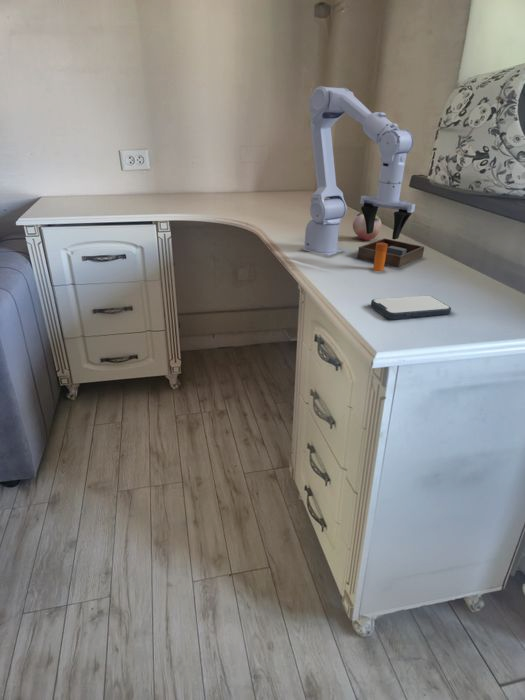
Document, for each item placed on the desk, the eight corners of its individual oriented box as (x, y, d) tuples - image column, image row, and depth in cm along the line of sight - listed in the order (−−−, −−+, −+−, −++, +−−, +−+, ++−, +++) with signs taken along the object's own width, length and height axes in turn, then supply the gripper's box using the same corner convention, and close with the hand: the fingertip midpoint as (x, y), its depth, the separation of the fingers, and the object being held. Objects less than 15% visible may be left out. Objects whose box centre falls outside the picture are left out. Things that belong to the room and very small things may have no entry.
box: (357, 258, 143) (358, 247, 141) (382, 249, 153) (384, 238, 152) (398, 269, 135) (400, 256, 134) (422, 258, 146) (424, 246, 144)
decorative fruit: (384, 241, 162) (389, 211, 157) (371, 246, 156) (375, 214, 152) (360, 236, 167) (364, 206, 163) (346, 240, 162) (350, 209, 157)
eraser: (386, 253, 147) (387, 247, 146) (390, 252, 149) (391, 245, 148) (401, 257, 144) (402, 250, 143) (405, 255, 146) (406, 249, 145)
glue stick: (370, 271, 133) (374, 243, 129) (375, 268, 135) (379, 241, 131) (380, 273, 131) (384, 246, 128) (385, 271, 133) (389, 243, 130)
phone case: (428, 301, 115) (368, 305, 110) (429, 294, 114) (369, 298, 109) (452, 315, 107) (388, 321, 102) (454, 308, 106) (390, 314, 102)
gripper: (424, 184, 122) (414, 238, 128) (372, 177, 130) (366, 228, 137) (411, 187, 117) (401, 243, 123) (359, 179, 126) (352, 232, 132)
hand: (382, 235), depth 130 cm, fingers open, 7 cm apart
